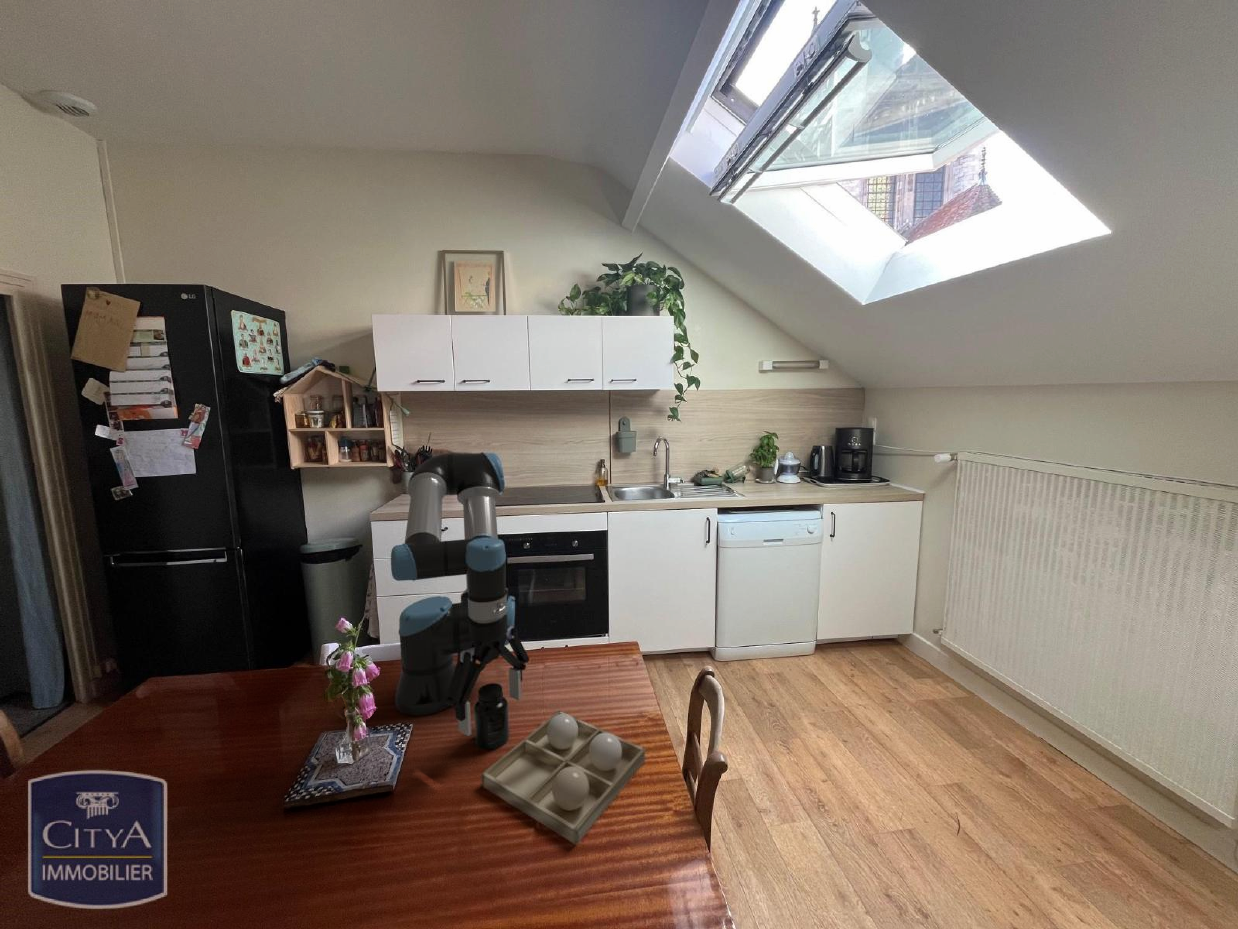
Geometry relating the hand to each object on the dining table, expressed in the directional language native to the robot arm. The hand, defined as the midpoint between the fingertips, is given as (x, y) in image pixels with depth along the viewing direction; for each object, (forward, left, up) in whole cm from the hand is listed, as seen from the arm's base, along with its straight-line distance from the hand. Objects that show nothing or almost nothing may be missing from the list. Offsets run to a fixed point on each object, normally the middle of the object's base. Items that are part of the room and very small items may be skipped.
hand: (491, 714), depth 101 cm
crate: (+19, +1, -7) cm, 20 cm away
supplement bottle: (0, 0, -7) cm, 7 cm away
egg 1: (+13, +7, -6) cm, 16 cm away
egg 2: (+24, -4, -6) cm, 25 cm away
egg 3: (+24, +7, -6) cm, 25 cm away
